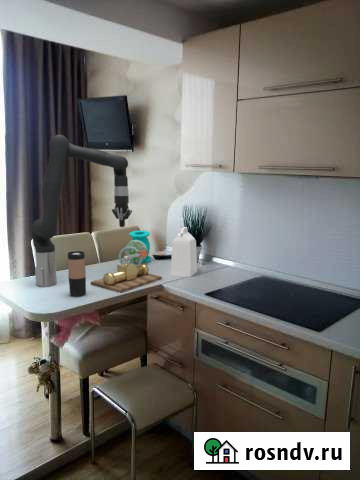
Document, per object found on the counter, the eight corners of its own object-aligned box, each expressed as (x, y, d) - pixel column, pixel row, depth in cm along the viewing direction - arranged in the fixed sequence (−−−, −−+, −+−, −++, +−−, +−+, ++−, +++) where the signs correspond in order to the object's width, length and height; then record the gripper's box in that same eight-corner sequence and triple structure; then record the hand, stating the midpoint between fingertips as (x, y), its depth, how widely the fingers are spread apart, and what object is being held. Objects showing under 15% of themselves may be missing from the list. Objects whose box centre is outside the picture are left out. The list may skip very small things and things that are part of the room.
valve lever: (122, 260, 200) (122, 254, 200) (143, 254, 213) (143, 249, 212) (126, 261, 198) (126, 255, 198) (147, 255, 211) (147, 250, 211)
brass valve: (111, 287, 189) (110, 265, 187) (101, 285, 194) (101, 263, 192) (150, 275, 211) (149, 255, 209) (140, 273, 215) (140, 253, 213)
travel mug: (72, 292, 186) (70, 251, 182) (88, 292, 186) (86, 251, 182) (67, 297, 178) (65, 254, 175) (83, 297, 178) (81, 254, 174)
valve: (153, 230, 249) (139, 245, 220) (154, 256, 254) (141, 274, 226) (131, 230, 251) (115, 244, 223) (133, 256, 256) (118, 273, 228)
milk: (190, 276, 212) (190, 229, 208) (170, 275, 216) (170, 228, 211) (197, 271, 223) (197, 226, 219) (178, 269, 227) (178, 225, 222)
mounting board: (120, 293, 184) (120, 289, 184) (90, 284, 198) (90, 281, 197) (162, 279, 208) (161, 276, 207) (132, 272, 221) (132, 270, 221)
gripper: (107, 194, 208) (108, 226, 211) (126, 195, 201) (127, 228, 204) (116, 194, 214) (117, 225, 217) (135, 194, 207) (136, 227, 210)
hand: (122, 226), depth 211 cm, fingers closed
